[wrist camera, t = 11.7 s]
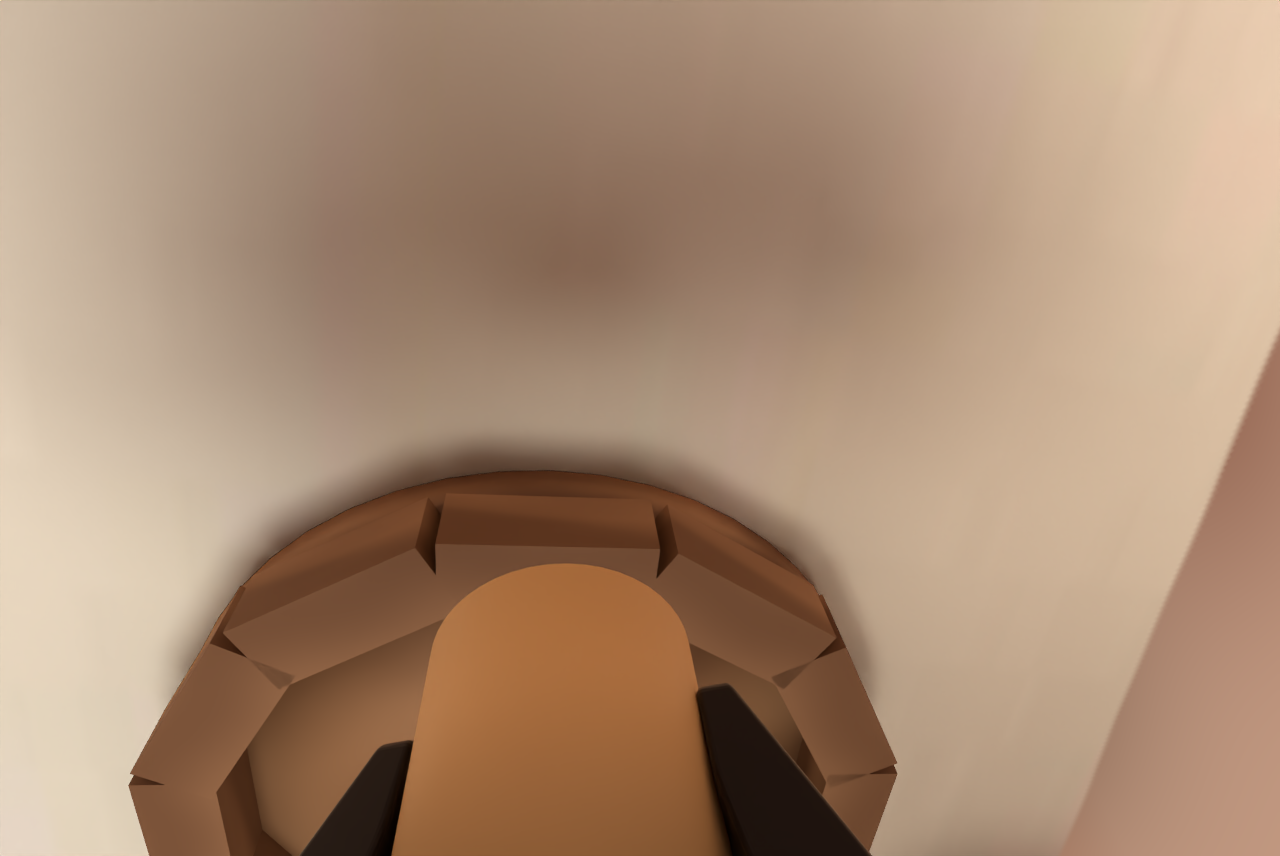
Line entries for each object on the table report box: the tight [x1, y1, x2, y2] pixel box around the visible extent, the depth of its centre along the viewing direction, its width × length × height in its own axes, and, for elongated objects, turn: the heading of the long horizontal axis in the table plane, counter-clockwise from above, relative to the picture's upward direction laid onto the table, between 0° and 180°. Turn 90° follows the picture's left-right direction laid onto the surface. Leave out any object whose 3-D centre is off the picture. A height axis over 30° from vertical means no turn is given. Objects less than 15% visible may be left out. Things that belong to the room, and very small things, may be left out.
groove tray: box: [128, 471, 897, 856], centre depth 24 cm, size 20×20×3 cm
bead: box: [391, 563, 733, 856], centre depth 9 cm, size 3×3×4 cm
